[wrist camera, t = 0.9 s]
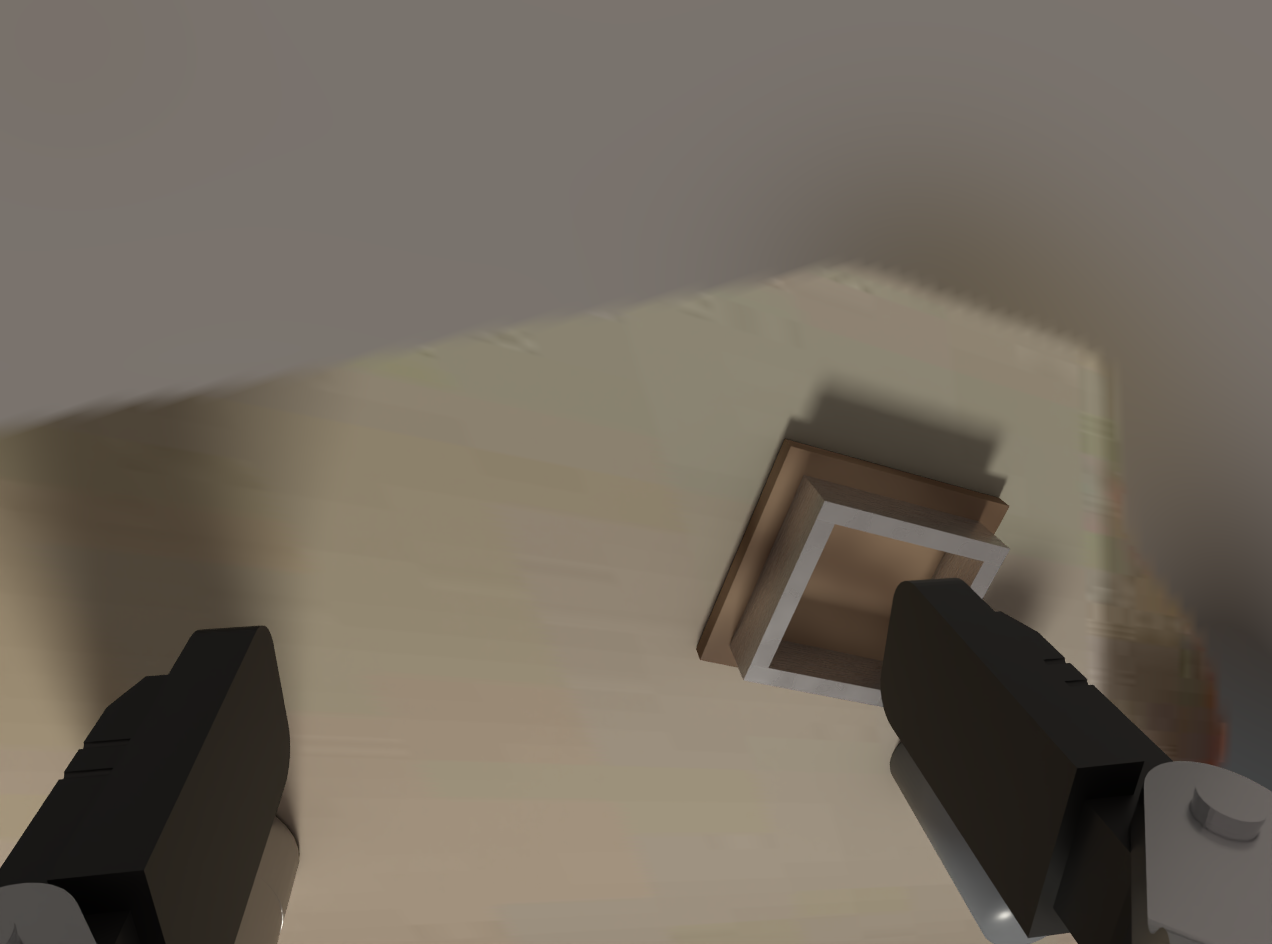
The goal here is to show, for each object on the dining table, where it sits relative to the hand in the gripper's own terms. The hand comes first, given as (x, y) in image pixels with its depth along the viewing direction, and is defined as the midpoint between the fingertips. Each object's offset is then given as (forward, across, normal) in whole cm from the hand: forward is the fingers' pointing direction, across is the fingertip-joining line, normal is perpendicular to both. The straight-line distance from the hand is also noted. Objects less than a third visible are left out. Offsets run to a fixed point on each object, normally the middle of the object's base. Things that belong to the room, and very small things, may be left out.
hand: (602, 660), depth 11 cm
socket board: (+28, +17, -16) cm, 37 cm away
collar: (+28, +17, -16) cm, 37 cm away
